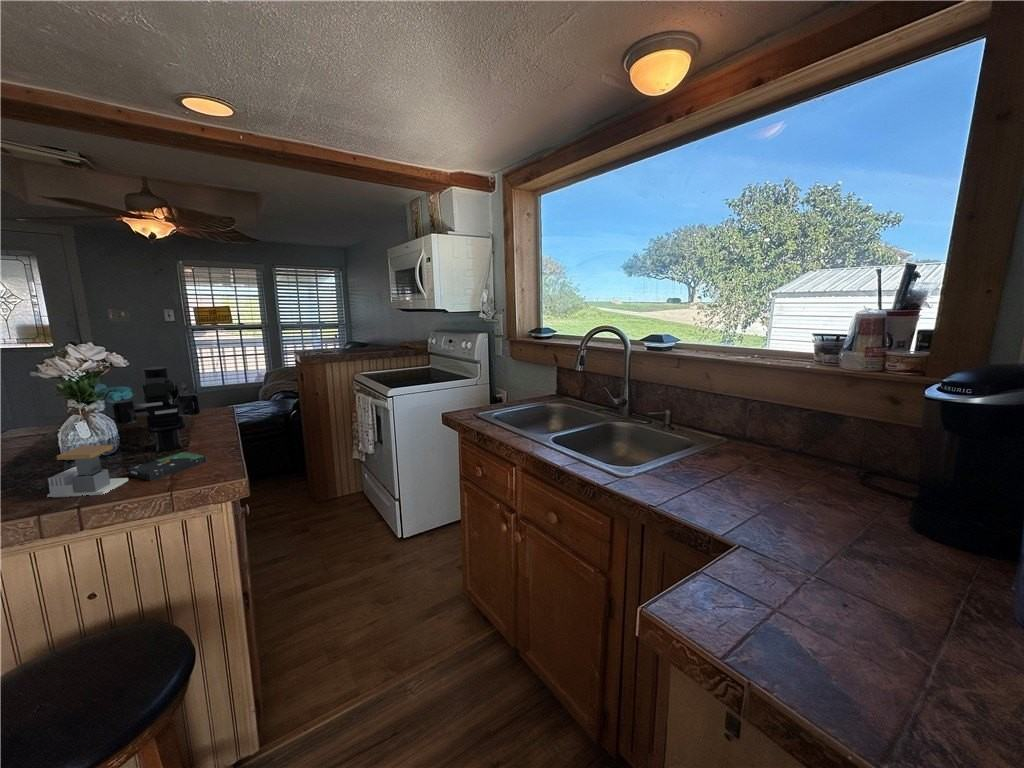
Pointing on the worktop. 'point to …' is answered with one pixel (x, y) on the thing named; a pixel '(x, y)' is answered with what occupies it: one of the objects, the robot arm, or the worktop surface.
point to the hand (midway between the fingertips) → (157, 415)
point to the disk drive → (166, 465)
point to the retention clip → (86, 458)
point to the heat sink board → (82, 483)
